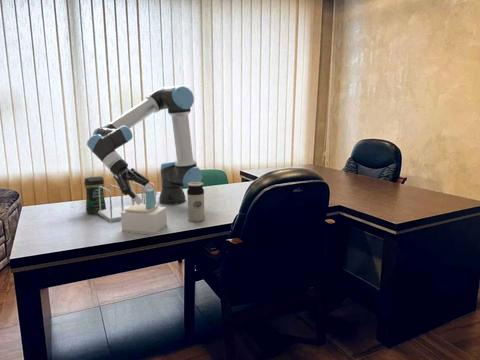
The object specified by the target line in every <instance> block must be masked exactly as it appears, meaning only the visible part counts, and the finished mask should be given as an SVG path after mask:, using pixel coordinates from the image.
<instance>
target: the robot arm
mask: <svg viewBox="0 0 480 360" xmlns="http://www.w3.org/2000/svg"><path fill="white" fill-rule="evenodd" d="M194 98H195V97H194V94H193V92H192V90H191V89H190V88H189V87H187V86H185V85H181V84H180V85H178V84H177V85H169V86H168V85H167V86H165V85H164V86H161V87H160V88H158V89H156V90H155V91H153V92H151V93H150V94H149V95H147V96H145V98H144V100H143V101H141V102H140V103H138V104H137V105H135V106H133V107H132V108H131V109H129V110H128V111H126V112H125V113H123V114H122V115H120V116H118V117H117V118H116V119H114V120H111V122H109V123H108V124H106V125H105V126H103V127H97V128H96V129H95V130H94V131H93V133H92V136H91V137H90V138H89V139H88V140H87V142H86V145H87V147H88V148H89V149H90V151H91V152H92V153H93V154H94V155H95V156H96V157H97V158H98V159H99V161H101V162H102V163H103V165H104V166H105V167H106V168H107V169H109V171H110V172H111V174H113V178H114V180H115V181H116V183H117V185H118V187H120V189H121V190H120V189H119V190H120V192H121V191H122V193H123V195H125V196H129V197H130V198H131V200H132V199H133V200H134V203H135V204H138V205H140V204H141V203H142V201H143V202H144V199H143V200H142V197H140V196H139V195H138V194H137V192H135V190H134V189H133V190H131V187H130V186H131V184H130V181H131V182H136V183H138V184H141V185H143V187H144V190H145V191H146V190H149V189H152V190H154V187H153V186H151V184H150V183H149V182H150V180H149V179H148V178H147V177H145V176H144V175H142V174H141V173H139V172H138V171H137V170H135V169H134V168H133V167H132V168H130V169H129V168H128V167H129V164H128V163H127V162H126V161H125V160H124V159H123V158H122V156H121V155H120V154H119V153H118V152H117V151H116V150H117V149H118V148H120V147H122V146H124V145H125V144H127V143H128V142H130V141H131V140H132V139H133V132H132V130H131V128H133V127H134V126H136V125H137V124H139V123H140V122H141V121H143V120H144V119H146V118H147V117H149V116H151V115H152V114H154V113H155V114H158V112H160V111H162V110H166V109H167V114H168V115H169V116H171V121H172V130H173V137H174V144H175V145H174V146H175V154H176V161H168V162H163V163H161V164H160V178H161V179H160V181H161V190H160V194H159V198H158V202H159V203H160V204H161V205H162V204H163V205H179V204H182V203H185V202H187V201H186V199H187V198H186V195H185V192H184V189H183V187H184V188H187V189H188V188H189V187H188V183H191V182H201V181H202V179H203V173H202V170H201V169H200V168H199V167H197V161H196V160H195V159H194V156H193V147H192V146H193V145H192V137H191V129H190V119H189V115H190V113H191V111H192V110H191V108H192V107H193V104H194V103H195V102H194V101H195V99H194ZM157 195H158V192H157V191H156V189H155V190H154V197H155V196H157Z"/></svg>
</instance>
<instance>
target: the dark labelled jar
mask: <svg viewBox="0 0 480 360" xmlns="http://www.w3.org/2000/svg"><path fill="white" fill-rule="evenodd" d="M188 187H189V188H187V191H186V194H187V198H186V199H187V220H188V221H190V222H193V223H194V222H196V223H197V222H202V221H205V190H204V188H203V187H204V182H201V181H200V182H191V183H188Z"/></svg>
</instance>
